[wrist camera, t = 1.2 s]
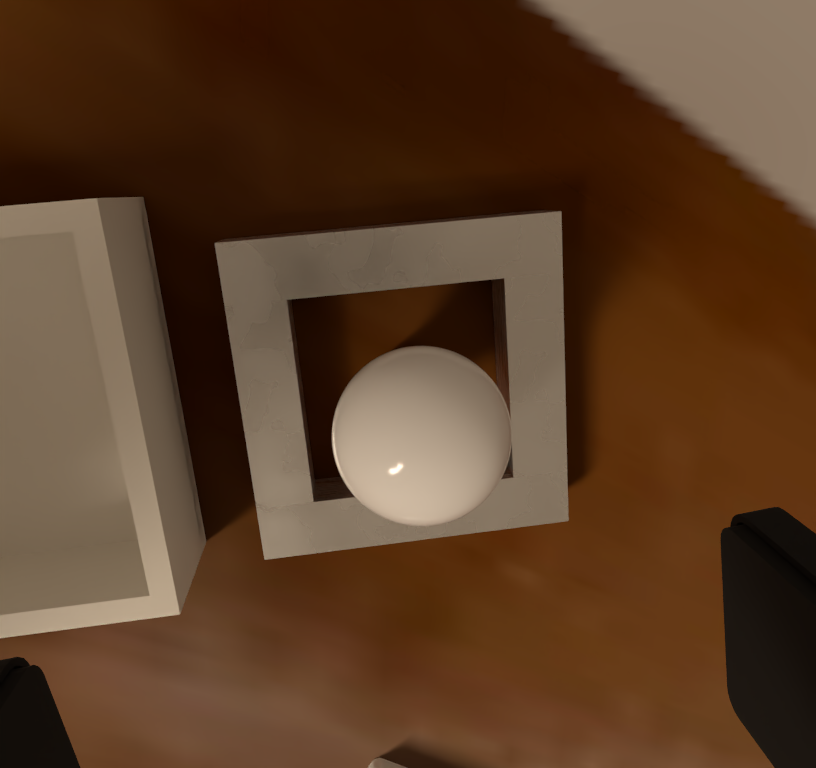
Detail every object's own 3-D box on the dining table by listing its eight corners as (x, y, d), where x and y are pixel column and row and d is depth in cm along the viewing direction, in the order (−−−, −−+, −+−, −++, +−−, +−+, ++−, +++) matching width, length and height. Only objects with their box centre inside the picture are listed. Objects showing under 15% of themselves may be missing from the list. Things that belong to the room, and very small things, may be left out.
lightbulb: (358, 290, 31) (373, 342, 20) (488, 337, 32) (565, 408, 22) (312, 419, 32) (303, 529, 22) (438, 459, 33) (488, 582, 23)
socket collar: (552, 498, 35) (568, 520, 32) (269, 533, 34) (264, 559, 31) (543, 209, 31) (561, 211, 28) (224, 238, 30) (214, 243, 27)
